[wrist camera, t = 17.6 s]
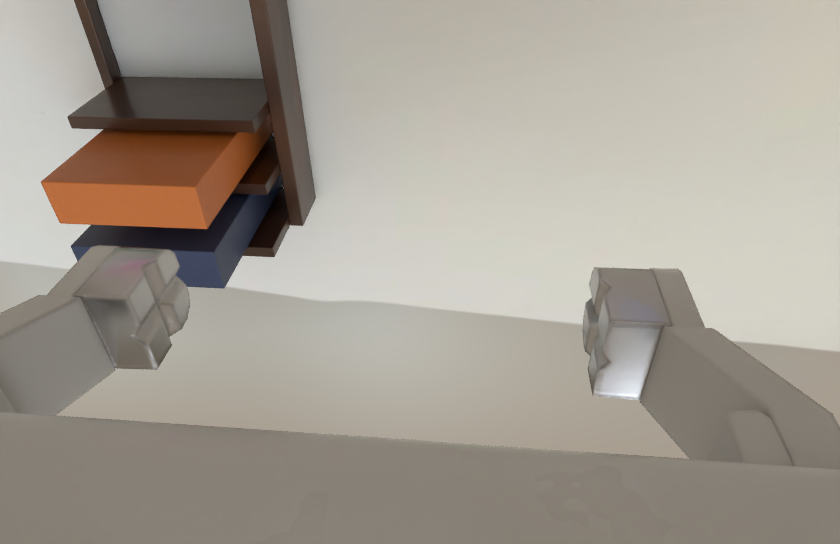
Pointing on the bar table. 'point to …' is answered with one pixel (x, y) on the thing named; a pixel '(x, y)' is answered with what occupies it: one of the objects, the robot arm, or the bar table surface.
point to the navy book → (194, 239)
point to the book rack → (219, 114)
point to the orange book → (153, 177)
